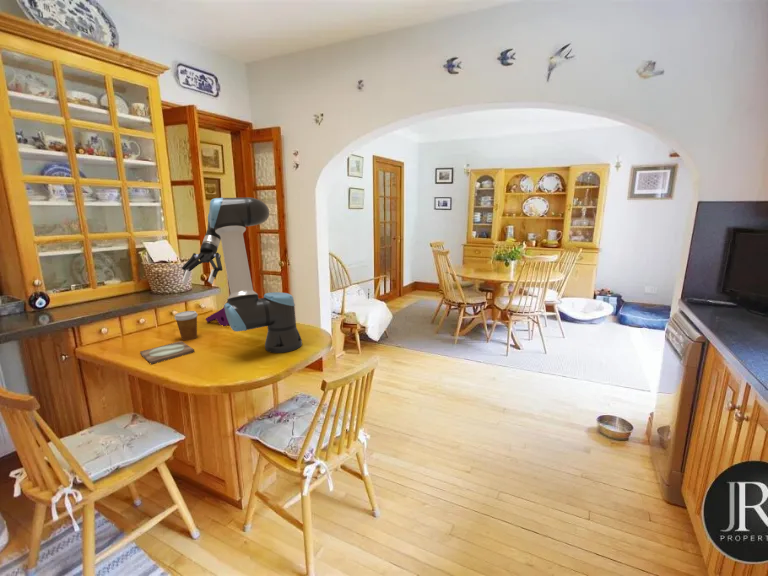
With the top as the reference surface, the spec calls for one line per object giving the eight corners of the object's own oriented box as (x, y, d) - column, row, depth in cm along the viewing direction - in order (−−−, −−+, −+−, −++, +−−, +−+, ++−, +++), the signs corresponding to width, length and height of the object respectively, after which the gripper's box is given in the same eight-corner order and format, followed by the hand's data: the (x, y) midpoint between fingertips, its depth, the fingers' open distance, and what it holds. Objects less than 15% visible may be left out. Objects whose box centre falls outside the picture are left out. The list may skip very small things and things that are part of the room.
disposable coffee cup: (199, 333, 179) (195, 309, 176) (202, 338, 171) (198, 313, 168) (177, 337, 174) (173, 313, 171) (179, 343, 166) (174, 317, 163)
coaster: (194, 352, 154) (194, 349, 154) (151, 364, 143) (150, 361, 143) (181, 343, 165) (181, 340, 165) (140, 354, 154) (139, 351, 154)
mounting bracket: (209, 334, 195) (230, 323, 187) (202, 320, 195) (223, 308, 187) (223, 329, 203) (244, 317, 195) (216, 315, 203) (236, 303, 195)
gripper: (236, 249, 188) (225, 286, 178) (191, 250, 192) (178, 286, 182) (229, 241, 182) (217, 278, 171) (183, 242, 185) (168, 278, 175)
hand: (197, 282), depth 176 cm, fingers open, 13 cm apart
